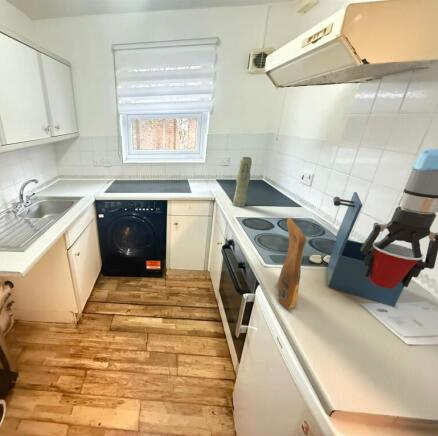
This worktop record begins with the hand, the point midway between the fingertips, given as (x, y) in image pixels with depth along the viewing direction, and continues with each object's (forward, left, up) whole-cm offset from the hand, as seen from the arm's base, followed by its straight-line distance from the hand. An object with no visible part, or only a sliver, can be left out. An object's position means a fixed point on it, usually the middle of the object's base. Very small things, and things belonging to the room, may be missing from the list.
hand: (384, 279), depth 72 cm
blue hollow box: (+1, -19, -14) cm, 24 cm away
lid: (+10, -19, +10) cm, 23 cm away
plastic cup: (0, 0, -1) cm, 1 cm away
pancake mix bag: (+24, +5, -15) cm, 29 cm away
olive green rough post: (+64, -87, -15) cm, 109 cm away
